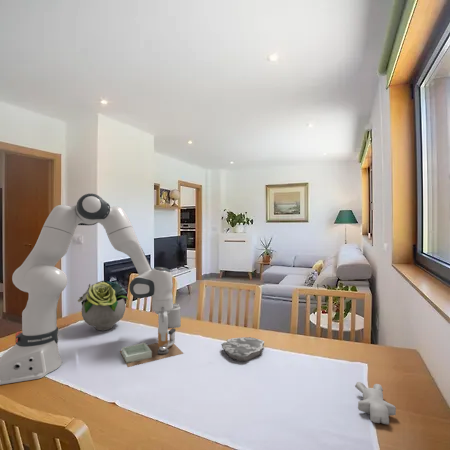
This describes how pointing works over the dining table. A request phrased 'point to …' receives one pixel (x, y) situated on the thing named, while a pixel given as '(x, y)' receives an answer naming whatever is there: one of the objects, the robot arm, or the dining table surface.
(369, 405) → the bunny figurine
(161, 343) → the block
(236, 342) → the brain slice
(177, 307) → the can
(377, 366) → the dining table surface
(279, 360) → the dining table surface
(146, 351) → the tray
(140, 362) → the mechanism board
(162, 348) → the crank
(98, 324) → the flower arrangement
